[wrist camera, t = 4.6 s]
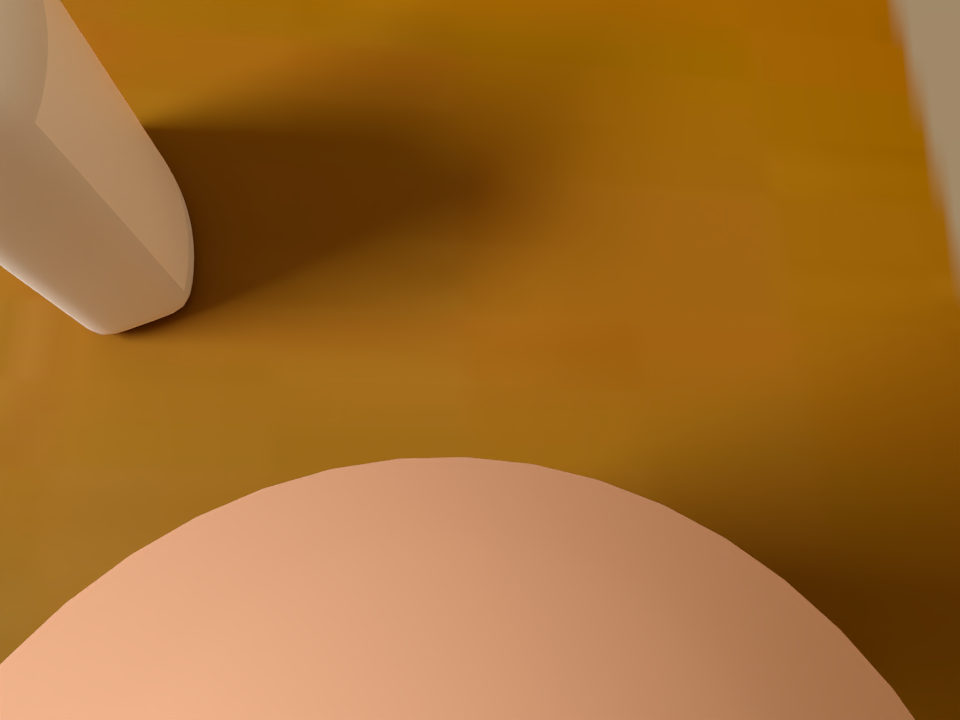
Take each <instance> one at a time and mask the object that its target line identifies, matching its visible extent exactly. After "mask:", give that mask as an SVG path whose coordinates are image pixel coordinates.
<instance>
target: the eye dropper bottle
mask: <svg viewBox="0 0 960 720" xmlns="http://www.w3.org/2000/svg"><path fill="white" fill-rule="evenodd" d="M0 265H1V266H2V267H3V268H5V269H6V270H8V271H9V272H10V273H12V274H13V275H14V276H16V277H17V278H18V279H20V280H21V281H23V282H24V283H25V284H27V285H28V286H29V287H31V288H32V289H34V290H35V291H36V292H38V293H39V294H40V295H42V296H43V297H45V298H46V299H47V300H49V301H50V302H51V303H53V304H54V305H56V306H57V307H58V308H60V309H61V310H62V311H64V312H65V313H67V314H68V315H69V316H71V317H72V318H74V319H75V320H76V321H78V322H79V323H80V324H82V325H83V326H85V327H86V328H88V329H89V330H91V331H94V332H96V333H98V334H101V335H107V334H117V333H120V332H123V331H126V330H129V329H132V328H135V327H137V326H140V325H143V324H146V323H149V322H151V321H154V320H157V319H160V318H162V317H165V316H167V315H170V314H173V313H174V312H176V311H177V310H179V309H180V308H182V307H183V306H184V305H185V303H186V301H187V299H188V298H189V296H190V293H191V288H192V282H193V272H194V243H193V234H192V228H191V222H190V218H189V214H188V210H187V207H186V204H185V201H184V198H183V196H182V193H181V190H180V188H179V186H178V184H177V182H176V180H175V178H174V176H173V174H172V172H171V171H170V169H169V167H168V165H167V164H166V162H165V160H164V159H163V157H162V156H161V154H160V153H159V151H158V150H157V148H156V147H155V145H154V143H153V142H152V140H151V139H150V137H149V136H148V134H147V133H146V131H145V130H144V128H143V127H142V125H141V124H140V122H139V121H138V119H137V117H136V116H135V114H134V113H133V111H132V110H131V108H130V107H129V105H128V104H127V102H126V101H125V99H124V98H123V96H122V94H121V93H120V91H119V90H118V88H117V87H116V85H115V84H114V82H113V81H112V79H111V78H110V76H109V75H108V73H107V72H106V70H105V68H104V67H103V65H102V64H101V62H100V61H99V59H98V58H97V56H96V55H95V53H94V52H93V50H92V49H91V47H90V46H89V44H88V43H87V41H86V39H85V38H84V36H83V35H82V33H81V32H80V30H79V29H78V27H77V26H76V24H75V23H74V21H73V20H72V18H71V17H70V15H69V14H68V12H67V10H66V9H65V7H64V6H63V4H62V3H61V1H60V0H0Z"/></svg>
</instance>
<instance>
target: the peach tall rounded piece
mask: <svg viewBox="0 0 960 720" xmlns="http://www.w3.org/2000/svg"><path fill="white" fill-rule="evenodd" d="M0 720H915V719H914V718H913V716H912V715H911V714H910V712H909V711H908V709H907V708H906V707H905V705H904V704H903V702H902V701H901V699H900V698H899V697H898V695H897V694H896V692H895V691H894V690H893V688H892V687H891V686H890V685H889V684H888V683H887V682H886V681H885V679H884V678H883V677H882V676H881V675H880V674H879V673H878V672H877V670H876V669H875V668H874V667H873V666H872V665H871V664H870V663H869V661H868V660H867V659H866V658H865V657H864V656H863V655H862V654H861V652H860V651H859V650H858V649H857V648H856V647H855V646H854V645H853V643H852V642H851V641H850V640H849V639H848V638H847V637H846V636H845V634H844V633H843V632H842V631H841V630H840V629H839V628H838V627H837V626H836V625H834V624H833V623H832V622H831V621H830V620H829V619H828V618H827V617H826V616H824V615H823V614H822V613H821V612H820V611H819V610H818V609H817V608H815V607H814V606H813V605H812V604H811V603H810V602H809V601H808V600H807V599H805V598H804V597H803V596H802V595H801V594H800V593H799V592H798V591H796V590H795V589H794V588H793V587H792V586H791V585H790V584H789V583H788V582H786V581H785V580H784V579H783V578H781V577H780V576H778V575H777V574H776V573H774V572H773V571H771V570H770V569H769V568H767V567H766V566H764V565H763V564H761V563H760V562H759V561H757V560H756V559H754V558H753V557H751V556H750V555H749V554H747V553H746V552H744V551H743V550H741V549H740V548H739V547H737V546H736V545H734V544H733V543H732V542H730V541H729V540H727V539H726V538H724V537H722V536H721V535H719V534H717V533H715V532H713V531H711V530H709V529H707V528H706V527H704V526H702V525H700V524H698V523H696V522H694V521H692V520H691V519H689V518H687V517H685V516H683V515H681V514H679V513H677V512H676V511H674V510H672V509H670V508H668V507H666V506H664V505H662V504H660V503H657V502H655V501H652V500H649V499H647V498H644V497H641V496H639V495H636V494H634V493H631V492H628V491H626V490H623V489H621V488H618V487H615V486H613V485H610V484H607V483H605V482H602V481H600V480H596V479H592V478H588V477H583V476H579V475H575V474H571V473H567V472H563V471H559V470H554V469H550V468H546V467H542V466H538V465H534V464H525V463H516V462H506V461H497V460H488V459H478V458H469V457H454V458H411V459H394V460H388V461H381V462H375V463H368V464H362V465H355V466H349V467H342V468H336V469H330V470H327V471H323V472H320V473H316V474H313V475H309V476H306V477H302V478H299V479H295V480H292V481H288V482H285V483H281V484H278V485H274V486H271V487H267V488H264V489H261V490H259V491H257V492H254V493H252V494H250V495H247V496H245V497H243V498H240V499H238V500H236V501H233V502H231V503H229V504H226V505H224V506H221V507H219V508H217V509H214V510H212V511H210V512H207V513H205V514H203V515H200V516H198V517H196V518H194V519H192V520H191V521H189V522H187V523H185V524H184V525H182V526H180V527H178V528H177V529H175V530H173V531H172V532H170V533H168V534H166V535H165V536H163V537H161V538H159V539H158V540H156V541H154V542H152V543H151V544H149V545H147V546H145V547H144V548H142V549H140V550H139V551H137V552H135V553H133V554H132V555H130V556H129V557H127V558H126V559H125V560H123V561H122V562H120V563H119V564H118V565H116V566H115V567H114V568H112V569H111V570H110V571H108V572H107V573H106V574H104V575H103V576H102V577H100V578H99V579H98V580H96V581H95V582H94V583H92V584H91V585H90V586H88V587H87V588H85V589H84V590H83V591H81V592H80V593H79V594H77V595H76V596H75V597H73V598H72V599H71V600H69V601H68V602H67V603H65V604H64V605H63V606H62V607H61V608H60V609H59V610H58V611H57V612H56V613H55V614H54V615H53V616H51V617H50V618H49V619H48V620H47V621H46V622H45V623H44V624H43V625H42V626H41V627H40V628H39V629H37V630H36V631H35V632H34V633H33V634H32V635H31V636H30V637H29V638H28V639H27V640H26V641H25V642H24V643H22V644H21V645H20V646H19V647H18V648H17V649H16V650H15V651H14V652H13V653H12V654H11V655H10V656H9V657H7V658H6V659H5V660H4V661H3V662H2V664H1V665H0Z"/></svg>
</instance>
